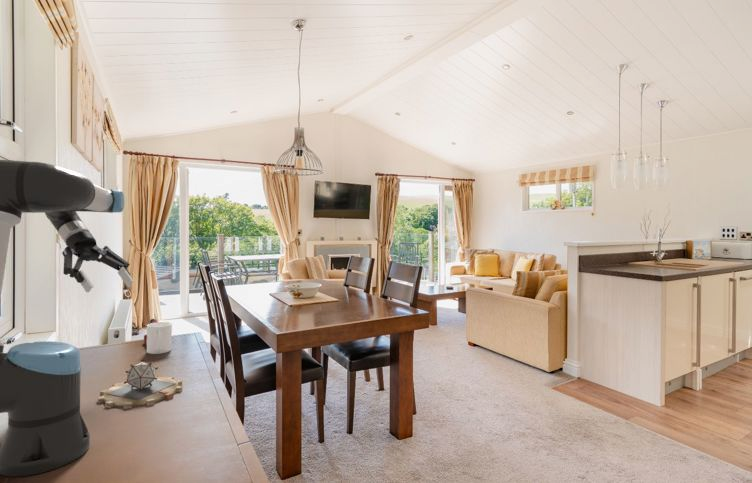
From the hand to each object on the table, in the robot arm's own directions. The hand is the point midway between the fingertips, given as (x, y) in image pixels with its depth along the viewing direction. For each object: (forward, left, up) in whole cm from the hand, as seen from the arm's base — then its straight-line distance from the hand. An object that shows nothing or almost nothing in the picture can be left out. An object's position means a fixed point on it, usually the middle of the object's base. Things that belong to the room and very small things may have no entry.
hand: (111, 286), depth 127 cm
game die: (-5, -18, -28) cm, 34 cm away
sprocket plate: (-4, -18, -30) cm, 35 cm away
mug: (+28, +10, -30) cm, 42 cm away
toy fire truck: (+36, +21, -30) cm, 51 cm away
